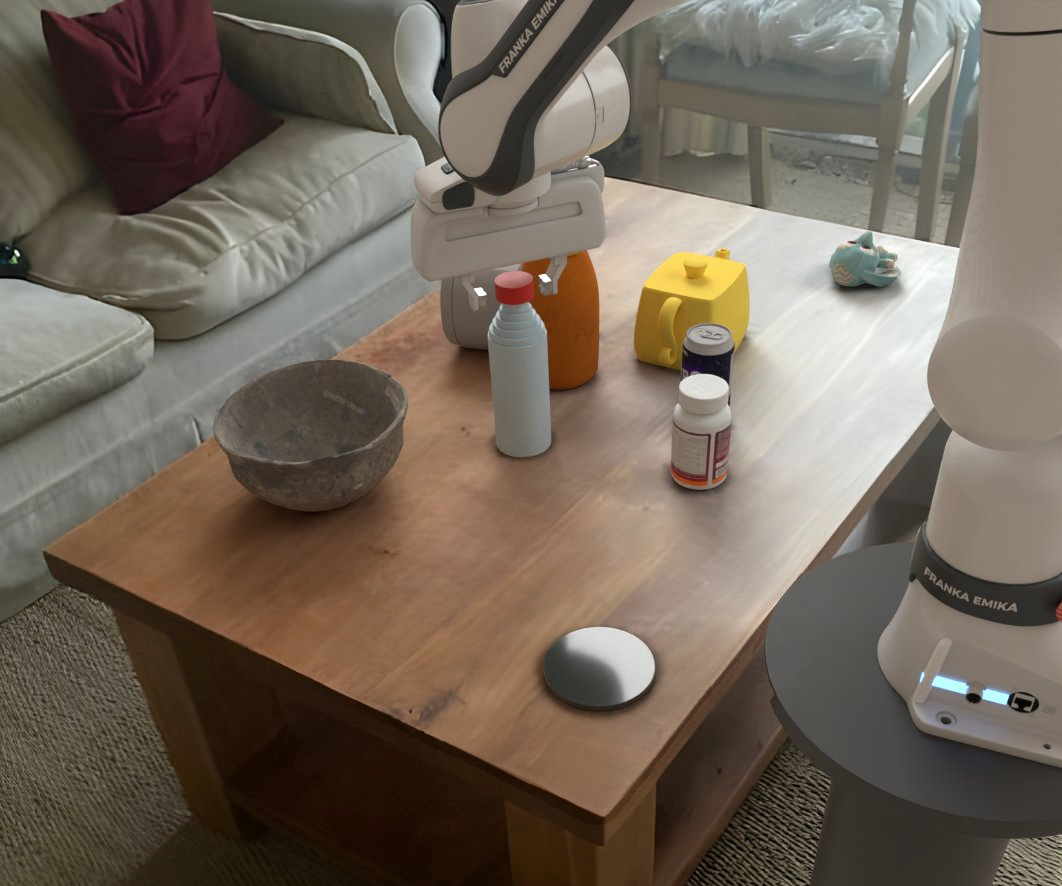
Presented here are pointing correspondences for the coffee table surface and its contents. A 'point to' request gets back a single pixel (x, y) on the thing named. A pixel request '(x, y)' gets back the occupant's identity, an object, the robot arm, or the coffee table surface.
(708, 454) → the pill bottle
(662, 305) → the teapot
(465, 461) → the coffee table surface
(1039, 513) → the robot arm
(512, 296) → the cap
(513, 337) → the bottle
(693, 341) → the beverage can
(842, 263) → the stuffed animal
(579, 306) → the wine bottle
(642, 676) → the coaster
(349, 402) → the bowl
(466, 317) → the alarm clock
